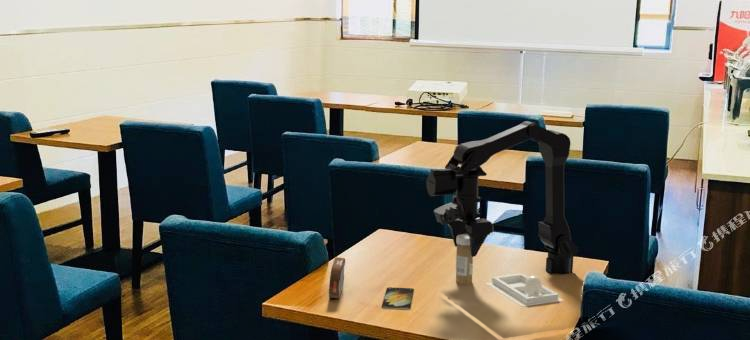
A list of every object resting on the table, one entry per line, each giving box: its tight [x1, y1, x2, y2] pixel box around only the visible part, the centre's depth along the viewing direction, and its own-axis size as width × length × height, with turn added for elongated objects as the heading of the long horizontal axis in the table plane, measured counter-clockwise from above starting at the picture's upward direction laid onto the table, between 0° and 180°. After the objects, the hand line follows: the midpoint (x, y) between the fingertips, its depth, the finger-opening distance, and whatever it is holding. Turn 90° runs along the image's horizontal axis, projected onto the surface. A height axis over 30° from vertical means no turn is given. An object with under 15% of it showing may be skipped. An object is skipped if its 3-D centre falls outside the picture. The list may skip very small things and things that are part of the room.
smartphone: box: [381, 286, 415, 311], centre depth 213 cm, size 7×1×15 cm
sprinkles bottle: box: [455, 233, 474, 285], centre depth 222 cm, size 5×5×13 cm
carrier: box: [486, 273, 565, 307], centre depth 216 cm, size 12×18×3 cm, turn 22°
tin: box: [328, 256, 346, 299], centre depth 216 cm, size 15×3×8 cm, turn 176°
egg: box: [524, 275, 543, 297], centre depth 212 cm, size 4×4×5 cm
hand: (465, 251), depth 221 cm, fingers open, 9 cm apart
